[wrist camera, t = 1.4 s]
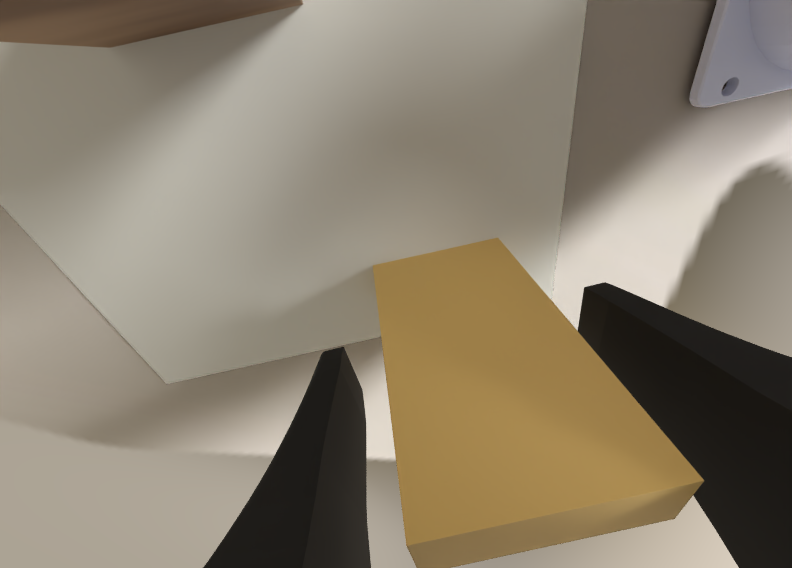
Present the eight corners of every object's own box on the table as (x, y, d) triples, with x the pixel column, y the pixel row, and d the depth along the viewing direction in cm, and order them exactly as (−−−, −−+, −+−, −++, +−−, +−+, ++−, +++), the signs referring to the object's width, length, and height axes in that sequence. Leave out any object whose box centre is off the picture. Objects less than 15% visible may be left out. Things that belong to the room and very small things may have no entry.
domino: (498, 237, 13) (704, 480, 5) (498, 271, 14) (674, 518, 6) (372, 265, 13) (406, 545, 5) (381, 297, 14) (420, 574, 6)
